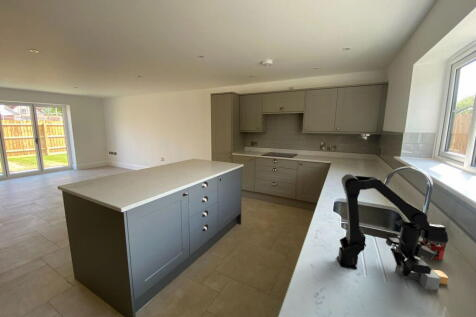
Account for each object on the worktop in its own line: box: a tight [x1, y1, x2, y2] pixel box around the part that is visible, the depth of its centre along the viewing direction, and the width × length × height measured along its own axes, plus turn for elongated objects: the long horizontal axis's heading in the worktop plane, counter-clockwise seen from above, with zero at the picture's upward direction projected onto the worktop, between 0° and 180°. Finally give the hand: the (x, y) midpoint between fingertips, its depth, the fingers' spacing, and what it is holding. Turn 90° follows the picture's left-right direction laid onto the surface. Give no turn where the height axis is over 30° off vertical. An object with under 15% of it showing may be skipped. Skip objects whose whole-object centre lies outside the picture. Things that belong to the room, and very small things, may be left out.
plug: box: [394, 264, 449, 285], centre depth 80 cm, size 16×4×3 cm, turn 78°
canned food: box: [421, 239, 447, 261], centre depth 93 cm, size 8×8×11 cm
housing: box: [415, 256, 441, 291], centre depth 80 cm, size 4×12×5 cm, turn 168°
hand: (402, 272), depth 81 cm, fingers closed on plug, 4 cm apart
